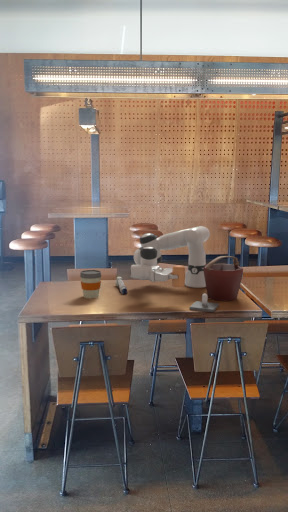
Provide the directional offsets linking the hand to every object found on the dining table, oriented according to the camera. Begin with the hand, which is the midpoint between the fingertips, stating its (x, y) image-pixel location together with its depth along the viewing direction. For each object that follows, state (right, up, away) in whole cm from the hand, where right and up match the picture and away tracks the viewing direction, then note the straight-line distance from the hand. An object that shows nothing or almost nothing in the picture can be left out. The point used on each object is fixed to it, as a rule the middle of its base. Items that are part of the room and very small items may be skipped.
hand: (180, 275), depth 249 cm
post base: (+13, -18, -2) cm, 22 cm away
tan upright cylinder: (-1, -6, +1) cm, 6 cm away
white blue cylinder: (-34, -11, +40) cm, 54 cm away
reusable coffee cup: (-52, -14, +21) cm, 58 cm away
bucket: (+27, -14, +19) cm, 36 cm away
